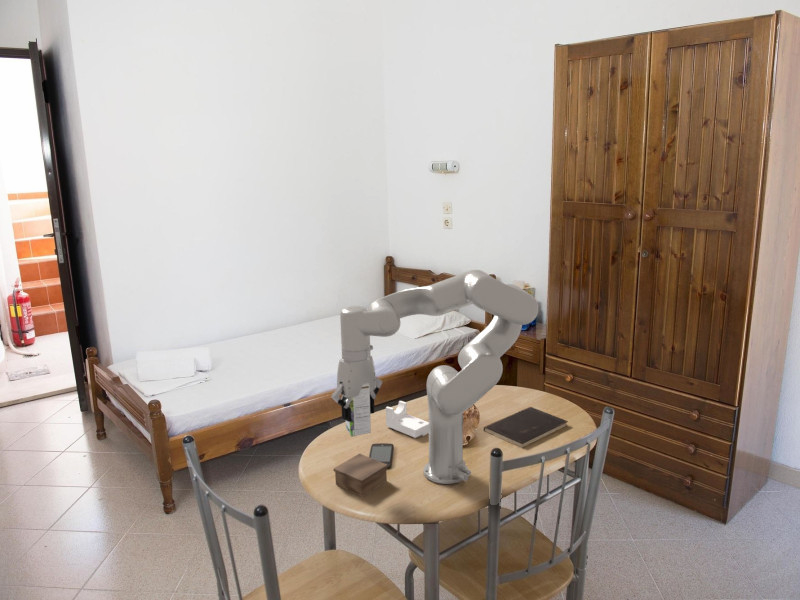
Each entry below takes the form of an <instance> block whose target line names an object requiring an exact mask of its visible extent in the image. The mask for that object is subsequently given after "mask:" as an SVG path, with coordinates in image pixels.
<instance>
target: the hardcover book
mask: <svg viewBox="0 0 800 600" xmlns="http://www.w3.org/2000/svg"><path fill="white" fill-rule="evenodd" d="M568 422H569V421H568V420H566V419H563V418H560V417H559V416H555V415H553V414H551V413H548V412H545V411H542V410H540V409H537V408H536V407H532V406H529V407H527V408H524V409H522V410H520V411H518V412H515V413H513V414H511V415H508V416H506V417H504V418H502V419H499V420H496V421H494V422H492V423H490V424H487V425H485V426H484V427H483V432H487V433H489V434H491V435H493V436H496V437H497V438H500V439H502V440H504V441H506V442H508V443H511V444H513V445H515V446H517V447H519V448H521V449H522V448H524V447H526V446H528V445H530V444H532V443H534V442H536V441H538V440H541V439H542V438H544V437H546V436H548V435H551V434H553V433H555V432H557V431H559V430H561V429H562V427H563V428H565V427H566V426H567V423H568ZM556 430H557V431H556Z"/></svg>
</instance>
